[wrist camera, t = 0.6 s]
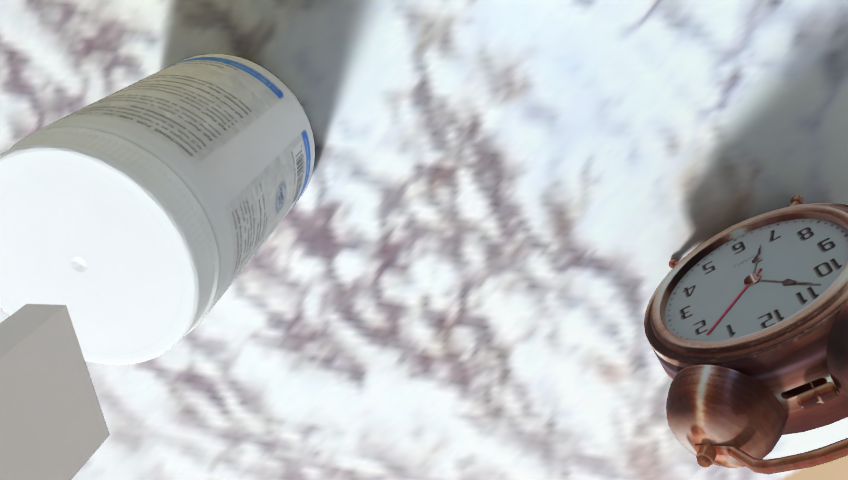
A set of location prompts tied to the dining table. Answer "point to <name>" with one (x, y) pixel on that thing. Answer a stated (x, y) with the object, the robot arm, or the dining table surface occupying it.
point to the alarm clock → (757, 337)
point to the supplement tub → (151, 202)
